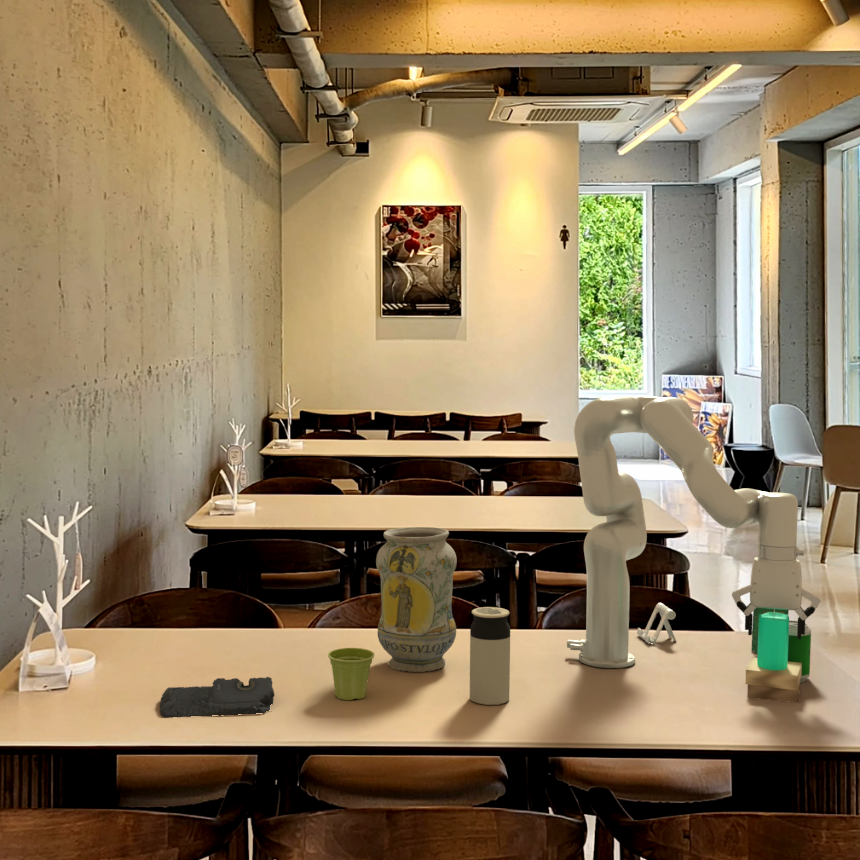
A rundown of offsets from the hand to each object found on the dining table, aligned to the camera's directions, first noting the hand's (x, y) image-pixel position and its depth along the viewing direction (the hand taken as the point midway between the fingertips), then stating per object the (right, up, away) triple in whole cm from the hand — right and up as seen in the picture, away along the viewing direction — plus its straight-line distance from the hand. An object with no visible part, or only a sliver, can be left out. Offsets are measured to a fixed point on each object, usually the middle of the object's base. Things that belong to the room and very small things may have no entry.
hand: (774, 635), depth 224 cm
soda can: (+7, -12, +11) cm, 17 cm away
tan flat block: (0, -12, +1) cm, 12 cm away
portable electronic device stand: (-15, -9, +42) cm, 46 cm away
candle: (0, -7, +1) cm, 7 cm away
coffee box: (+9, -10, +32) cm, 35 cm away
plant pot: (-87, -12, -4) cm, 88 cm away
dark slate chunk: (-112, -12, -10) cm, 114 cm away
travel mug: (-59, -12, -6) cm, 60 cm away
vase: (-74, -10, +19) cm, 77 cm away
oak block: (0, -9, +1) cm, 9 cm away
